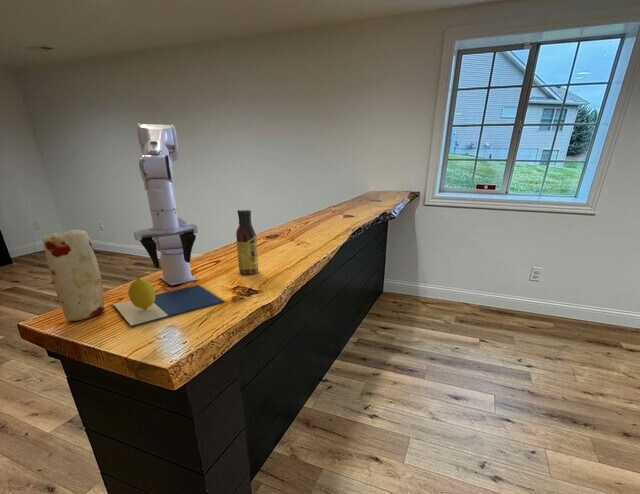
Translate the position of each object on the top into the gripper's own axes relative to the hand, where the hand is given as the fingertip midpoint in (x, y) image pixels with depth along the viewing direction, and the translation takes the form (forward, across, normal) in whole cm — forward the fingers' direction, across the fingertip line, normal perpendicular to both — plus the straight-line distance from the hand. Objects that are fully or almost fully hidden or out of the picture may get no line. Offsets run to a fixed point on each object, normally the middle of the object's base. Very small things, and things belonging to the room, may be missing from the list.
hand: (172, 264), depth 88 cm
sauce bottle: (+10, +26, +8) cm, 29 cm away
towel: (+9, -3, -2) cm, 10 cm away
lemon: (+9, -9, -4) cm, 13 cm away
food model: (+10, -20, +2) cm, 23 cm away
